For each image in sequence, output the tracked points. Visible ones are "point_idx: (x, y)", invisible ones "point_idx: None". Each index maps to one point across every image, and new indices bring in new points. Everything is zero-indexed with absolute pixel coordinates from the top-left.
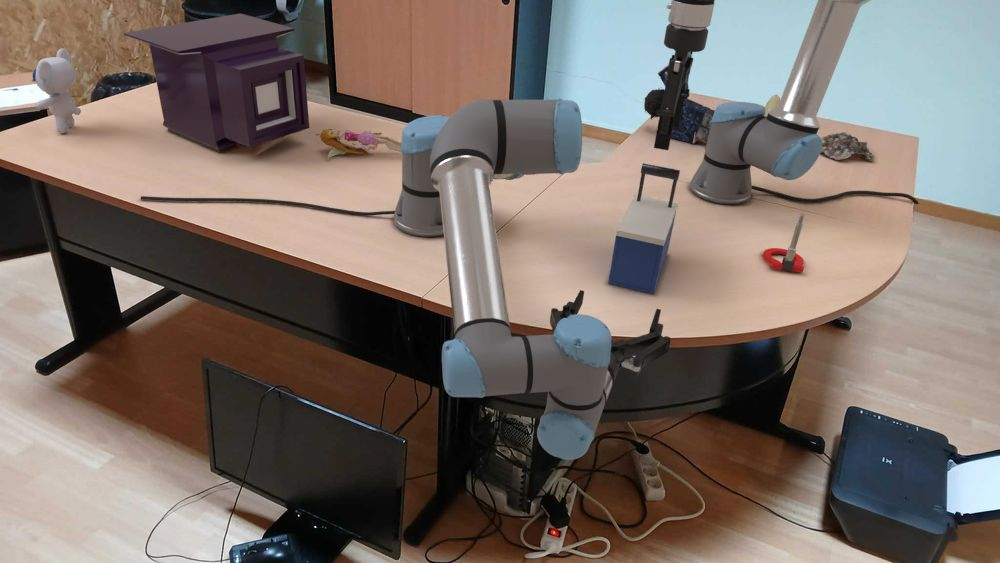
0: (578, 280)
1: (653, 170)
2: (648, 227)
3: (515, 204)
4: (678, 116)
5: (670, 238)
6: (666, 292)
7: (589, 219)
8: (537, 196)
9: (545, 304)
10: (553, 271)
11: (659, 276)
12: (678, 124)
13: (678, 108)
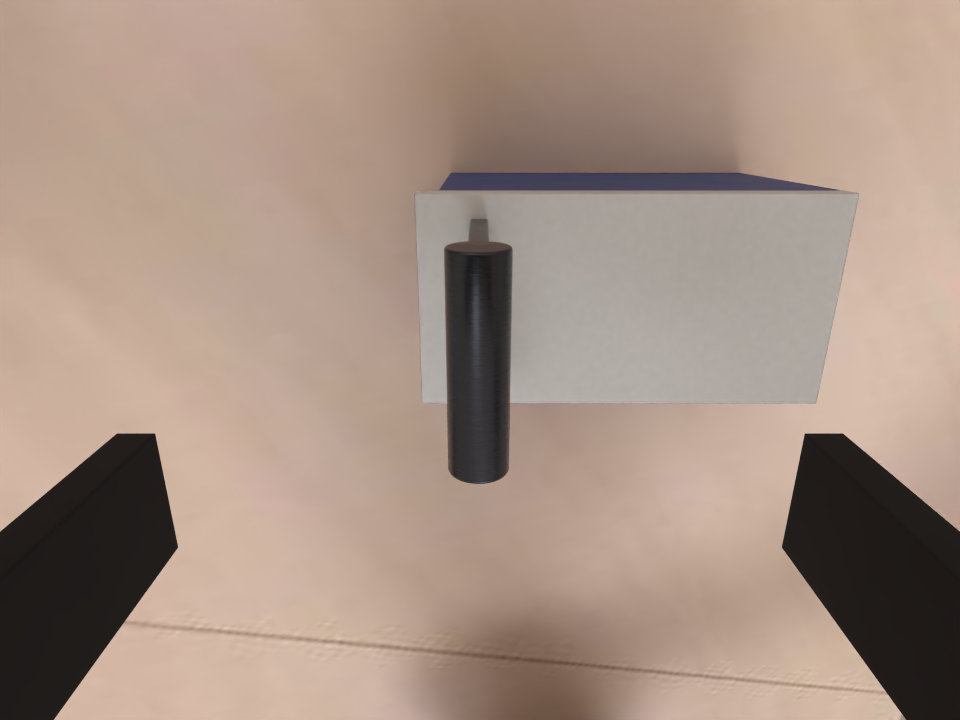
0: (726, 407)
1: (509, 406)
2: (748, 285)
3: (344, 668)
4: (87, 522)
5: (451, 178)
6: (711, 131)
7: (319, 467)
8: (254, 634)
9: (882, 454)
10: (698, 480)
11: (631, 173)
12: (138, 457)
13: (27, 607)
